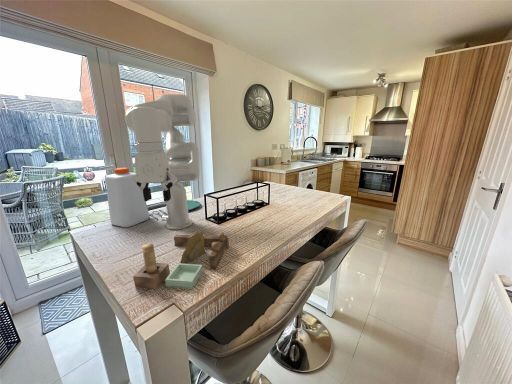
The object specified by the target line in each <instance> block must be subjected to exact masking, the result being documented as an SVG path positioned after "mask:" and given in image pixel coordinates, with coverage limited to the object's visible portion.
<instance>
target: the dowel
mask: <svg viewBox="0 0 512 384" xmlns="http://www.w3.org/2000/svg"><path fill="white" fill-rule="evenodd" d="M141 249H142V255H143V260H144V261H143V262H144V266H145V268H146V273H150V274H154V273H155V272H156V271H157V265H156V263H157V260H156V253H155V246H154V243H145V244H144V245H142V246H141Z"/></svg>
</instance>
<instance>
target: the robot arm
mask: <svg viewBox="0 0 512 384" xmlns="http://www.w3.org/2000/svg"><path fill="white" fill-rule="evenodd" d="M124 116H125V117H124V120H125V125H126V126H127V128H128V129H129V130H130V131H132V132H133V133H134V136H135V143H136V144H134V145H133V148H134V149H136V150H137V152H135V154H134V155H135V156H134V168H135V169H134V173H136V174H135V176H134V177H133V178H132V180H133V181H134V182H135V183H137V185H138V186H139V187H140V189H141V190H143V197H144V201H146V202H149V201H150V200H152V198H153V197H152V191H151V188H150V187H149V186H150V184H161V185H160V186H162V188H163V190H162V197H163V202H164V203H165V204H166V207H167V208H166V210H167V212H166V213H167V214H168V215H163V216H162V217H161V222H166V223H165V228H166V229H168V230H173V231H178V230H183V229H186V228H189V227H191V226H192V225H193V219H192V218H190V217H189V211H188V205H187V200H188V199H187V198H188V197H187V196H188V195H187V191H186V190H187V189H186V188H185V186H184V185H183V184H182V183H181V182H193V181H194V182H195V181H197V180H199V178H200V150H199V146H198V144H197V143H195V142H192V141H191V142H190V141H188V142H186V141H185V137H184V135H183V133H182V132H181V131H180V130H179V129H177V128H176V127H193V126H194V125H195V124H196V121H197V120H196V119H197V118H196V114H195V110H194V107H193V104H192V101H191V99H190V98H189V97H188V95H186V94H174V93H171V94H170V93H168V94H167V93H165V94H161V95H159V97H157V98H156V99H155V100H151V101H146V102H143V103H138V104H135V105H133V106H132V105H131V106H130V108H128V109H127V110H126V112H125V115H124ZM162 133H164V135H165V147H163V139H162ZM164 148H165V149H164Z"/></svg>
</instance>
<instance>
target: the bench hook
mask: <svg viewBox="0 0 512 384" xmlns="http://www.w3.org/2000/svg"><path fill="white" fill-rule="evenodd" d="M193 235H194V234H193ZM193 235H192V234H175V235H174V236H173V242H174V246H175V247H186V246H187V243H188V239H189V238H191V237H192V236H193ZM203 236H204V248H210V249H211V252H210V254H209V255H208V260H209V261H208V262H209V270H214V271H215V270H217V269H218V266H219V265H220V263H221V260H222V258H223V256H224V254H225V252H226V251H227V249H229V247H230V245H229V244H230V242H229V241H230V240H229V239H230V237H229V236H228V235H227V234H225V233H224V232H219V233H218V234H217V236H215V235H214V236H213V235H212V236H211V235H203Z"/></svg>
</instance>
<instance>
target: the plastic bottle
mask: <svg viewBox="0 0 512 384" xmlns="http://www.w3.org/2000/svg"><path fill="white" fill-rule="evenodd" d="M113 171H114V173H112V174H108V175H106V176H105V179H104V180H105V186H106V194H107V195H106V196H107V203H108V211H109V218H110V219H109V222H110V223H111V225H114V226H118V227H121V228H129V227H133V226H136V225H138V224H141V223H143V222H146V221H147V220H149V219H150V216H149V213H150V212H149V208H148V204H147V201H144V197H143V190H141V189H140V187H139V186H138V185H137V183H135V182H134V181H133V180H132V178H133V177H134V176H135V174H136V172H132V171H131V172H130V169H129V167H117V168H115V169H114V170H113Z"/></svg>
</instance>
